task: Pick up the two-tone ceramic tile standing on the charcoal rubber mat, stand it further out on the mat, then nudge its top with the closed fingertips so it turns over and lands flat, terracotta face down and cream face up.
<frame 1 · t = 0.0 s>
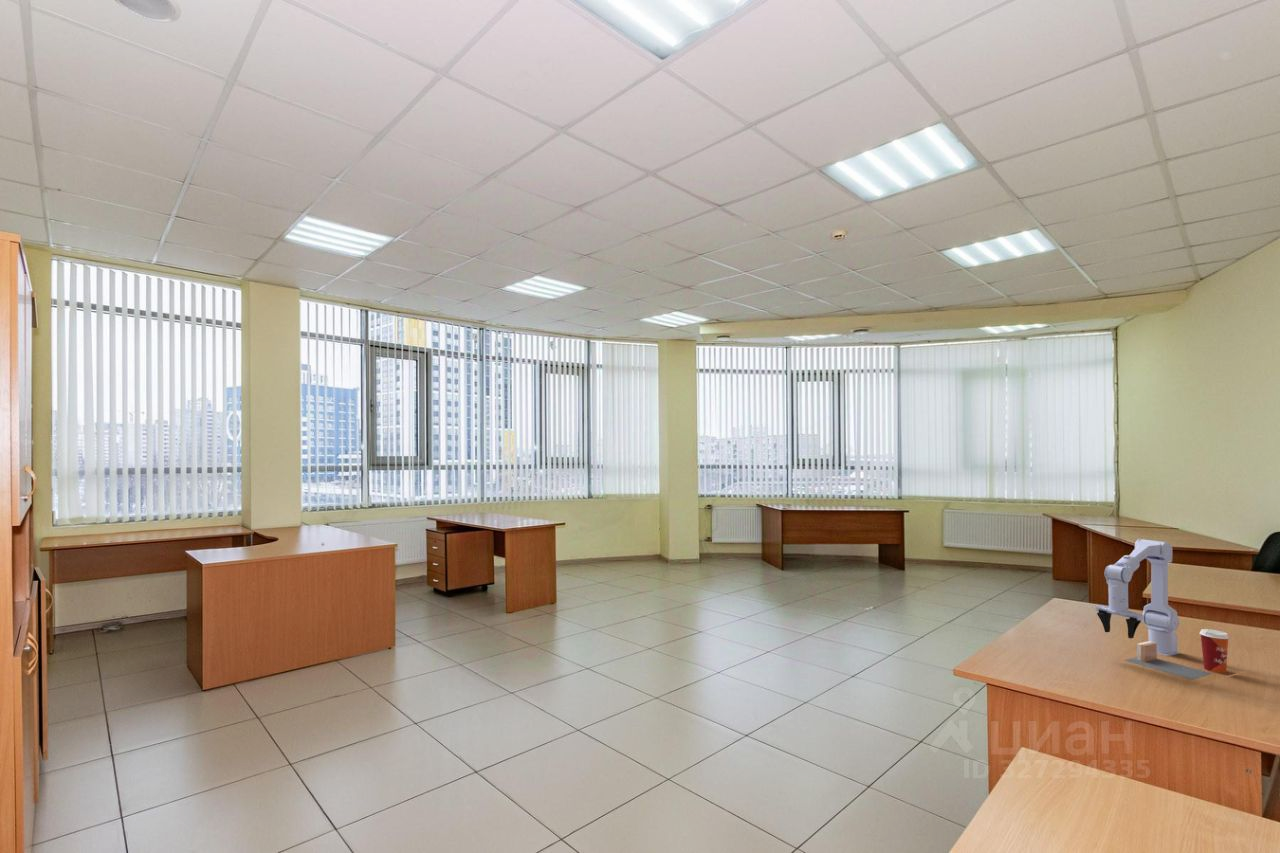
hand: (1119, 634, 220), 10 cm above the table, fingers open, 7 cm apart
paper cup: (1215, 671, 211), on the table
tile: (1147, 659, 221), resting on mat
mat: (1167, 667, 214), on the table
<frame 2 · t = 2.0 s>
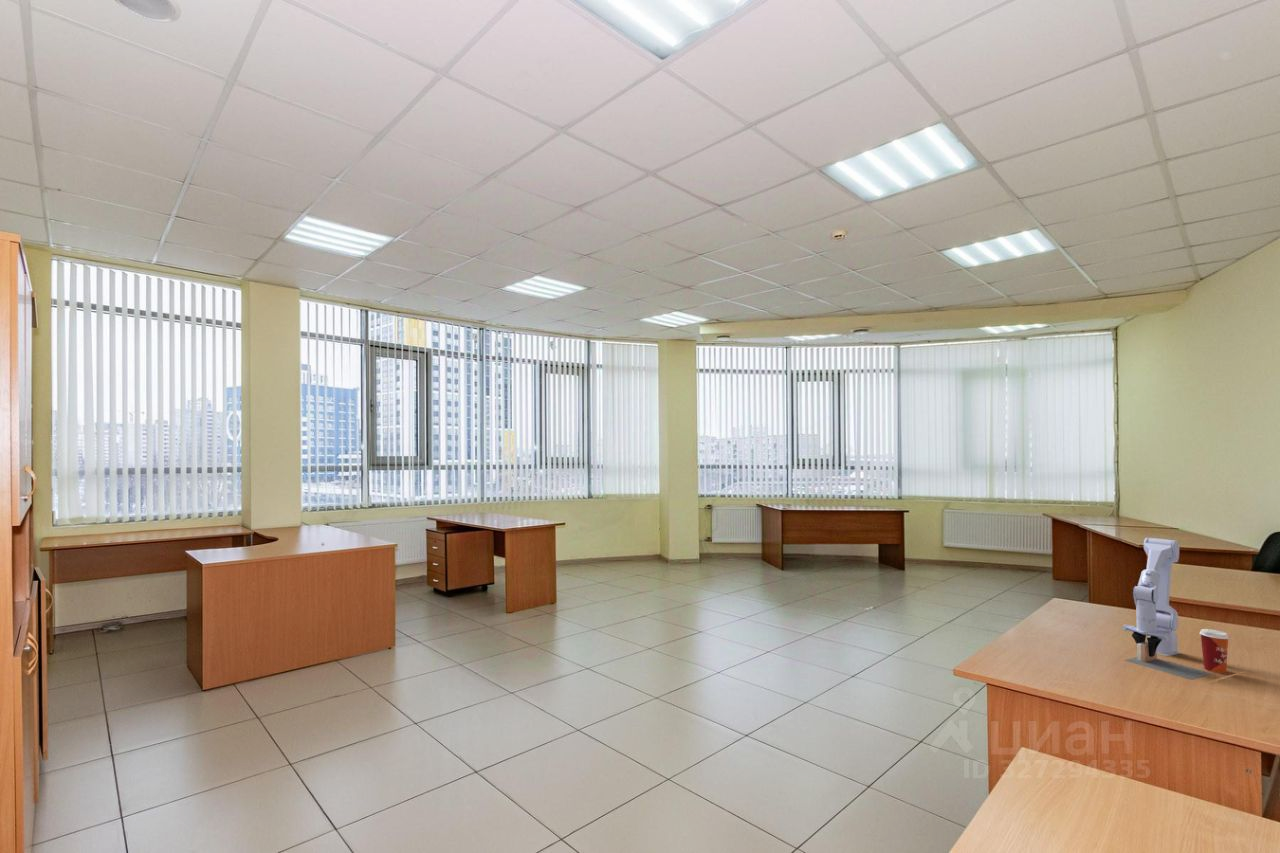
hand: (1147, 654, 222), 2 cm above the table, fingers closed on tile, 2 cm apart
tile: (1147, 659, 221), resting on mat, touching gripper
everything else where it was.
when the fingers open (3 cm above the table, at t = 4.6 s): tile moves 2 cm and tips over, resting on mat.
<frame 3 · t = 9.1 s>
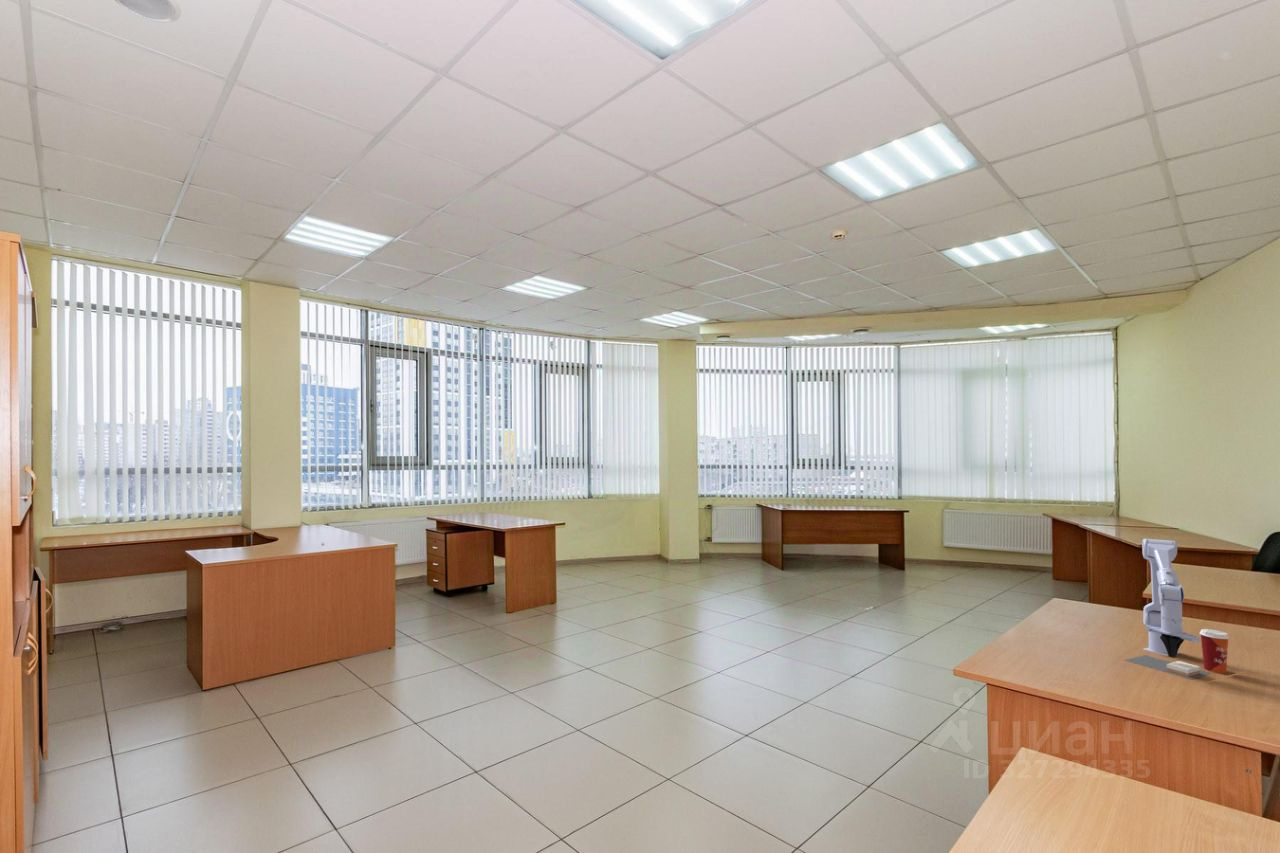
hand: (1172, 656, 212), 5 cm above the table, fingers closed
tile: (1172, 665, 212), point 2 cm above the table, tilted 90°, touching mat
everything else where it was.
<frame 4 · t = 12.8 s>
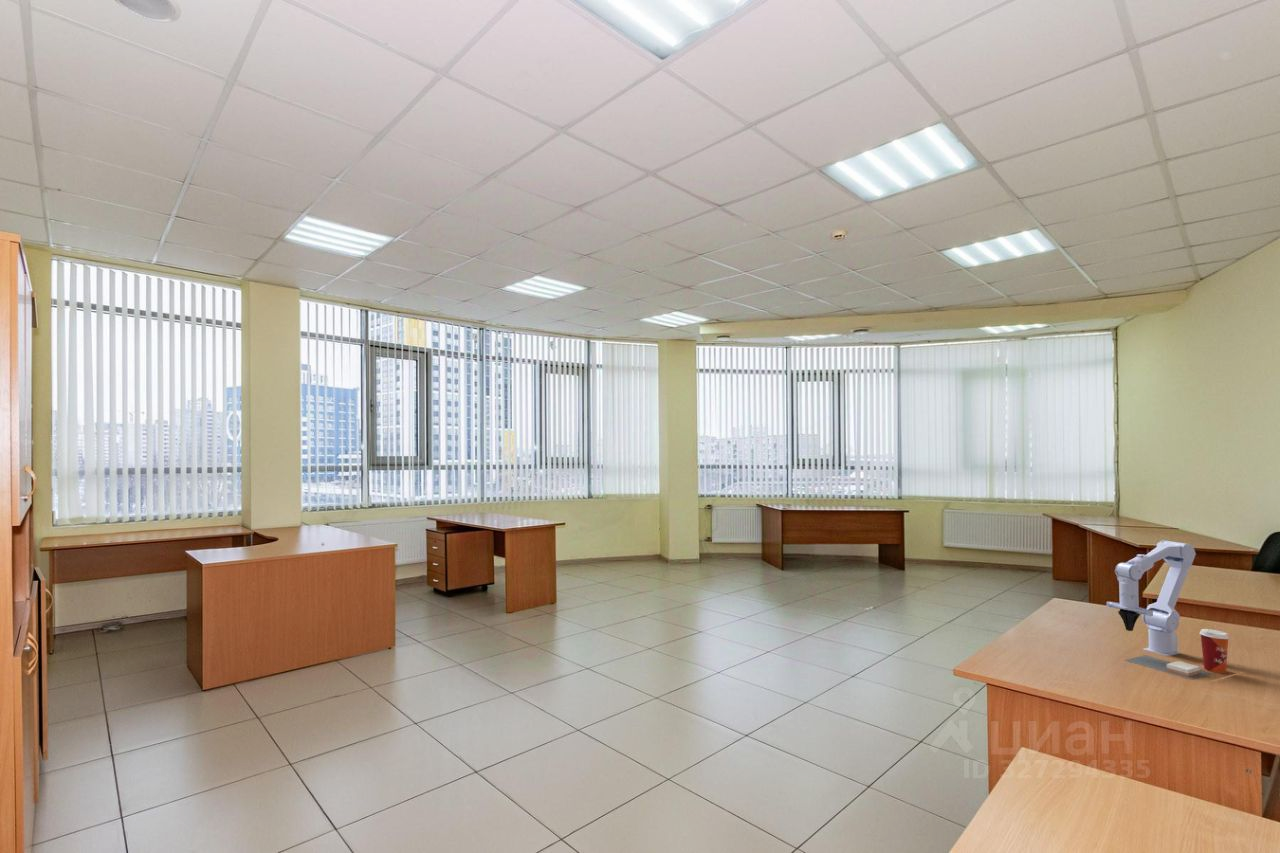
hand: (1129, 630, 228), 9 cm above the table, fingers closed
nothing on the table moved.
at the end: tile tilted 90°; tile inside the target area on the mat (2.5 cm from its centre), point 1.6 cm above the mat's base; the gripper is holding nothing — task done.
